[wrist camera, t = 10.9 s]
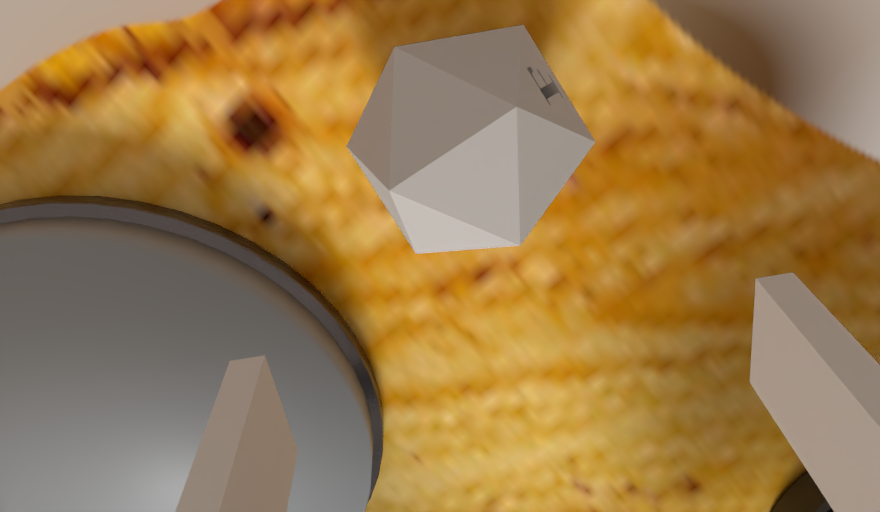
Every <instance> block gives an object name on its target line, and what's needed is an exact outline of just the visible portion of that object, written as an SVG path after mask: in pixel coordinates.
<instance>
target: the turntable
mask: <svg viewBox="0 0 880 512" xmlns="http://www.w3.org/2000/svg"><path fill="white" fill-rule="evenodd" d="M263 355H265V357H266V360H267V363H268V366H269V369H270V372H271V375H272V377H273V380H274V383H275V386H276V389H277V392H278V395H279V397H280V400H281V403H282V406H283V409H284V412H285V415H286V418H287V420H288V423H289V426H290V429H291V432H292V435H293V438H294V440H295V443H296V446H297V449H298V453H297V458H296V464H295V469H294V474H293V480H292V485H291V490H290V495H289V501H288V506H287V511H286V512H365V510H366V506H367V502H368V498H369V494H370V487H371V472H372V456H373V431H372V421H371V414H370V410H369V407H368V403H367V400H366V396H365V393H364V389H363V387H362V385H361V383H360V381H359V379H358V376H357V374H356V372H355V370H354V368H353V366H352V364H351V362H350V361H349V359H348V358H347V356H346V354H345V353H344V351H343V350H342V348H341V347H340V345H339V344H338V342H337V341H336V339H335V338H334V337H333V336H332V335H331V333H330V332H329V331H328V330H327V329H326V328H325V326H324V325H323V324H322V323H321V322H320V321H319V320H318V318H317V317H316V316H315V315H314V314H313V313H312V312H311V311H310V310H309V309H307V308H306V307H305V306H304V305H303V304H302V303H301V302H300V301H298V300H297V299H296V298H295V297H294V296H293V295H292V294H291V293H289V292H288V291H287V290H286V289H284V288H283V287H281V286H280V285H278V284H277V283H276V282H274V281H273V280H271V279H270V278H268V277H267V276H266V275H264V274H263V273H261V272H260V271H258V270H257V269H255V268H253V267H251V266H249V265H247V264H246V263H244V262H242V261H240V260H238V259H236V258H234V257H233V256H231V255H229V254H227V253H225V252H223V251H221V250H218V249H216V248H213V247H211V246H208V245H206V244H204V243H201V242H199V241H196V240H194V239H191V238H189V237H186V236H182V235H179V234H175V233H172V232H169V231H165V230H162V229H158V228H155V227H151V226H147V225H141V224H136V223H130V222H124V221H119V220H113V219H104V218H88V217H73V216H65V217H45V218H29V219H23V220H17V221H12V222H6V223H0V512H175V511H176V508H177V506H178V503H179V500H180V497H181V495H182V492H183V489H184V486H185V483H186V481H187V478H188V475H189V472H190V470H191V467H192V464H193V461H194V458H195V456H196V453H197V450H198V447H199V445H200V442H201V439H202V436H203V433H204V431H205V428H206V425H207V422H208V420H209V417H210V414H211V411H212V409H213V406H214V403H215V400H216V397H217V395H218V392H219V389H220V386H221V384H222V381H223V378H224V375H225V372H226V370H227V367H228V364H229V361H232V360H238V359H244V358H251V357H257V356H263Z"/></svg>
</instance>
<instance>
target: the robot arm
mask: <svg viewBox="0 0 880 512" xmlns="http://www.w3.org/2000/svg"><path fill="white" fill-rule="evenodd" d="M750 384H751V385H752V387H753V389H754V390H755V392H756V393H757V395H758V396H759V398H760V399H761V401H762V402H763V404H764V405H765V407H766V408H767V410H768V411H769V413H770V415H771V416H772V418H773V419H774V421H775V422H776V424H777V425H778V427H779V428H780V430H781V431H782V433H783V434H784V436H785V437H786V439H787V441H788V442H789V444H790V445H791V447H792V448H793V450H794V451H795V453H796V454H797V456H798V457H799V459H800V460H801V462H802V463H803V465H804V467H805V468H806V470H807V471H808V472H807V473H805V474H804V475H803V476H802V477H801V478H799V479H798V480H797V481H796V482H795V483H794V484H793V485H792V486H791V487H790V488H789V489H788V490H787V491H786V493H785V494H784V495H783V496H782V498H781V499H780V500H779V501H778V503H777V504H776V506H775V507H774V509H773V511H772V512H880V365H879V364H878V363H877V361H876V360H875V359H874V358H873V357H872V356H871V355H870V354H869V353H868V352H867V351H866V350H865V349H864V348H863V346H862V345H861V344H860V343H859V342H858V341H857V340H856V339H855V338H854V337H853V336H852V335H851V334H850V333H849V332H848V330H847V329H846V328H845V327H844V326H843V325H842V324H841V323H840V322H839V321H838V320H837V319H836V318H835V317H834V316H833V314H832V313H831V312H830V311H829V310H828V309H827V308H826V307H825V306H824V305H823V304H822V303H821V302H820V301H819V299H818V298H817V297H816V296H815V295H814V294H813V293H812V292H811V291H810V290H809V289H808V288H807V287H806V286H805V285H804V283H803V282H802V281H801V280H800V279H799V278H798V277H797V276H796V275H795V274H794V273H787V274H780V275H774V276H767V277H761V278H756V281H755V299H754V316H753V333H752V350H751V367H750ZM297 453H298V449H297V446H296V443H295V440H294V438H293V435H292V432H291V429H290V426H289V423H288V420H287V418H286V415H285V412H284V409H283V406H282V403H281V400H280V397H279V395H278V392H277V389H276V386H275V383H274V380H273V377H272V375H271V372H270V369H269V366H268V363H267V360H266V357H265V355H263V356H257V357H251V358H244V359H238V360H232V361H229V364H228V367H227V370H226V372H225V375H224V378H223V381H222V384H221V386H220V389H219V392H218V395H217V397H216V400H215V403H214V406H213V409H212V411H211V414H210V417H209V420H208V422H207V425H206V428H205V431H204V433H203V436H202V439H201V442H200V445H199V447H198V450H197V453H196V456H195V458H194V461H193V464H192V467H191V470H190V472H189V475H188V478H187V481H186V483H185V486H184V489H183V492H182V495H181V497H180V500H179V503H178V506H177V508H176V511H175V512H286V511H287V506H288V501H289V495H290V490H291V485H292V480H293V474H294V469H295V464H296V458H297Z"/></svg>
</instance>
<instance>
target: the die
mask: <svg viewBox="0 0 880 512" xmlns="http://www.w3.org/2000/svg"><path fill="white" fill-rule="evenodd" d="M594 143H595V140H594V139H593V137H592V135H591V134H590V132H589V130H588V129H587V127H586V126H585V124H584V122H583V121H582V119H581V117H580V116H579V114H578V113H577V111H576V109H575V108H574V106H573V104H572V103H571V101H570V100H569V98H568V96H567V95H566V93H565V91H564V90H563V88H562V87H561V85H560V83H559V82H558V80H557V78H556V77H555V75H554V74H553V72H552V70H551V69H550V67H549V65H548V64H547V62H546V61H545V59H544V57H543V56H542V54H541V52H540V51H539V49H538V48H537V46H536V44H535V43H534V41H533V39H532V38H531V36H530V35H529V33H528V31H527V30H526V28H525V26H524V25H519V26H513V27H507V28H501V29H495V30H490V31H484V32H478V33H472V34H466V35H460V36H455V37H449V38H443V39H437V40H431V41H425V42H420V43H414V44H408V45H402V46H396V47H394V49H393V51H392V53H391V55H390V57H389V59H388V61H387V63H386V65H385V67H384V69H383V72H382V74H381V76H380V78H379V80H378V82H377V84H376V86H375V88H374V90H373V92H372V95H371V97H370V99H369V101H368V103H367V105H366V107H365V109H364V111H363V113H362V115H361V118H360V120H359V122H358V124H357V126H356V128H355V130H354V132H353V134H352V136H351V138H350V140H349V143H348V145H347V148H348V149H349V151H350V152H351V154H352V156H353V157H354V159H355V160H356V162H357V163H358V165H359V166H360V168H361V169H362V171H363V173H364V174H365V176H366V177H367V179H368V180H369V182H370V183H371V185H372V186H373V188H374V190H375V191H376V193H377V194H378V196H379V197H380V199H381V200H382V202H383V203H384V205H385V207H386V208H387V210H388V211H389V213H390V214H391V216H392V217H393V219H394V220H395V222H396V224H397V225H398V227H399V228H400V230H401V231H402V233H403V234H404V236H405V237H406V239H407V241H408V242H409V244H410V245H411V247H412V248H413V250H414V251H415V253H416V254H420V253H433V252H446V251H459V250H471V249H484V248H497V247H509V246H520V245H521V244H522V242H523V241H524V240H525V238H526V237H527V236H528V234H529V233H530V231H531V230H532V229H533V227H534V226H535V225H536V223H537V222H538V220H539V219H540V218H541V216H542V215H543V214H544V212H545V211H546V209H547V208H548V207H549V205H550V204H551V203H552V201H553V200H554V198H555V197H556V196H557V194H558V193H559V191H560V190H561V189H562V187H563V186H564V185H565V183H566V182H567V180H568V179H569V178H570V176H571V175H572V174H573V172H574V171H575V169H576V168H577V167H578V165H579V164H580V163H581V161H582V160H583V158H584V157H585V156H586V154H587V153H588V152H589V150H590V149H591V147H592V146H593V145H594Z"/></svg>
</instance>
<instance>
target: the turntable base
mask: <svg viewBox="0 0 880 512" xmlns="http://www.w3.org/2000/svg"><path fill="white" fill-rule="evenodd" d="M65 216H73V217H88V218H104V219H113V220H119V221H124V222H130V223H136V224H141V225H147V226H151V227H155V228H158V229H162V230H165V231H169V232H172V233H175V234H179V235H182V236H186V237H189V238H191V239H194V240H196V241H199V242H201V243H204V244H206V245H208V246H211V247H213V248H216V249H218V250H221V251H223V252H225V253H227V254H229V255H231V256H233V257H234V258H236V259H238V260H240V261H242V262H244V263H246V264H247V265H249V266H251V267H253V268H255V269H257V270H258V271H260V272H261V273H263V274H264V275H266V276H267V277H268V278H270V279H271V280H273V281H274V282H276V283H277V284H278V285H280V286H281V287H283V288H284V289H286V290H287V291H288V292H289V293H291V294H292V295H293V296H294V297H295V298H296V299H297V300H298V301H300V302H301V303H302V304H303V305H304V306H305V307H306V308H307V309H309V310H310V311H311V312H312V313H313V314H314V315H315V316H316V317H317V318H318V320H319V321H320V322H321V323H322V324H323V325H324V326H325V328H326V329H327V330H328V331H329V332H330V333H331V335H332V336H333V337H334V338H335V339H336V341H337V342H338V344H339V345H340V347H341V348H342V350H343V351H344V353H345V354H346V356H347V358H348V359H349V361H350V362H351V364H352V366H353V368H354V370H355V372H356V374H357V376H358V379H359V381H360V383H361V385H362V387H363V389H364V393H365V396H366V400H367V403H368V407H369V410H370V414H371V421H372V431H373V456H372V472H371V487H370V494H369V498H368V501H369V500H370V498H371V495H372V492H373V489H374V487H375V484H376V481H377V478H378V475H379V470H380V464H381V458H382V452H383V411H382V406H381V400H380V394H379V389H378V386H377V383H376V380H375V377H374V374H373V371H372V368H371V366H370V363H369V361H368V359H367V357H366V355H365V353H364V351H363V349H362V348H361V346H360V344H359V342H358V340H357V338H356V336H355V335H354V333H353V332H352V331H351V329H350V328H349V327H348V325H347V324H346V322H345V321H344V320H343V318H342V317H341V316H340V314H339V313H338V311H337V310H336V309H335V308H334V307H333V306H332V305H331V304H330V303H329V302H328V301H327V300H326V299H325V298H324V297H323V296H322V294H321V293H320V292H319V291H318V290H317V289H316V288H315V287H314V286H313V285H312V284H310V283H309V282H308V281H307V280H305V279H304V278H303V277H302V276H301V275H299V274H298V273H297V272H296V271H295V270H293V269H292V268H291V267H290V266H288V265H287V264H286V263H284V262H283V261H281V260H280V259H278V258H277V257H275V256H274V255H272V254H270V253H269V252H267V251H266V250H264V249H263V248H261V247H260V246H258V245H256V244H255V243H253V242H251V241H249V240H247V239H245V238H243V237H241V236H239V235H237V234H235V233H233V232H231V231H229V230H227V229H225V228H223V227H221V226H219V225H216V224H213V223H210V222H208V221H205V220H202V219H199V218H197V217H194V216H191V215H189V214H186V213H183V212H180V211H176V210H172V209H168V208H164V207H160V206H156V205H152V204H148V203H143V202H138V201H131V200H123V199H115V198H108V197H100V196H53V197H43V198H34V199H24V200H18V201H13V202H9V203H5V204H1V205H0V223H6V222H12V221H17V220H23V219H29V218H45V217H65ZM367 503H368V502H367Z"/></svg>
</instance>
